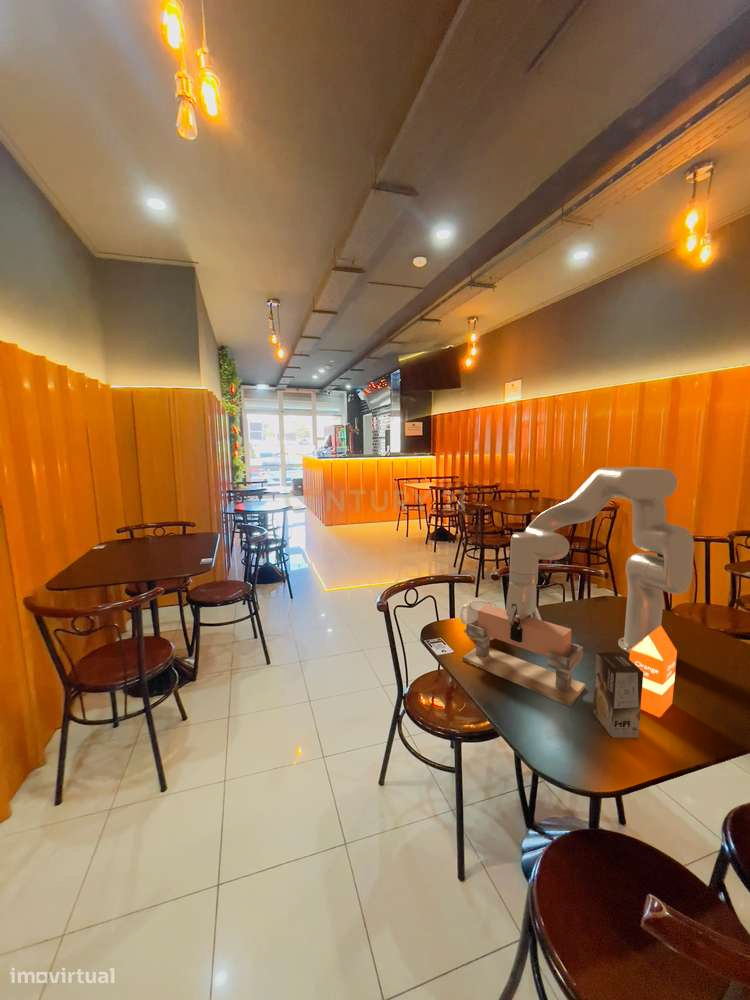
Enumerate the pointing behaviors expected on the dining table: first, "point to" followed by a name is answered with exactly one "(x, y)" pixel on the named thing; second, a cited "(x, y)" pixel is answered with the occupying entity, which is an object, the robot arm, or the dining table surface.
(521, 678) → the cradle stand
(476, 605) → the mug
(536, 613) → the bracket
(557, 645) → the rail
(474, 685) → the dining table surface
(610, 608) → the dining table surface
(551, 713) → the dining table surface
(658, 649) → the orange juice
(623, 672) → the coffee box
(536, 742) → the dining table surface
